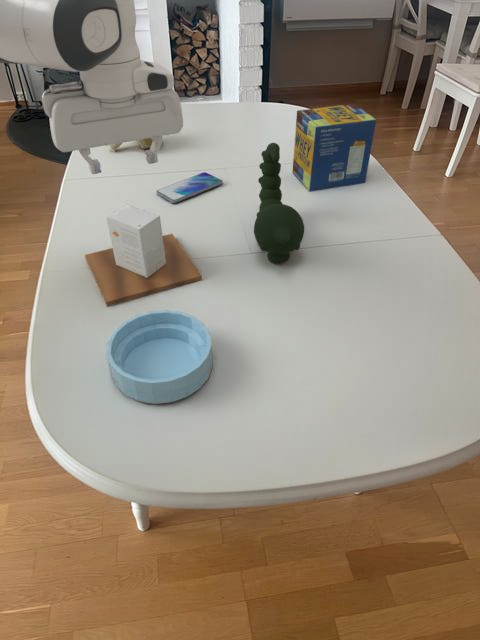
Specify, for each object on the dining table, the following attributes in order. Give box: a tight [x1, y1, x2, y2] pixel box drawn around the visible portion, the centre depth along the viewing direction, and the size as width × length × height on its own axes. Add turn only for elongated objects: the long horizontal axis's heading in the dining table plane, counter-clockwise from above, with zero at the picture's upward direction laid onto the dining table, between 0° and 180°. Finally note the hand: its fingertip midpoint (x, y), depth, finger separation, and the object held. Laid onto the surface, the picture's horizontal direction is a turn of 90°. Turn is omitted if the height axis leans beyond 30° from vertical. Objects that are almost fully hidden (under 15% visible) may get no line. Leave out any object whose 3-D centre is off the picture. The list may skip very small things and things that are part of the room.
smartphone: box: [156, 171, 223, 204], centre depth 123 cm, size 7×1×15 cm
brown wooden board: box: [84, 233, 203, 307], centre depth 99 cm, size 18×16×1 cm
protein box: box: [292, 103, 377, 192], centre depth 123 cm, size 10×15×16 cm
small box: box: [106, 204, 166, 278], centre depth 95 cm, size 8×6×10 cm
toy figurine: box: [253, 142, 305, 265], centre depth 100 cm, size 9×19×25 cm
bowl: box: [106, 309, 213, 405], centre depth 78 cm, size 15×15×5 cm
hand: (124, 167), depth 85 cm, fingers open, 8 cm apart
